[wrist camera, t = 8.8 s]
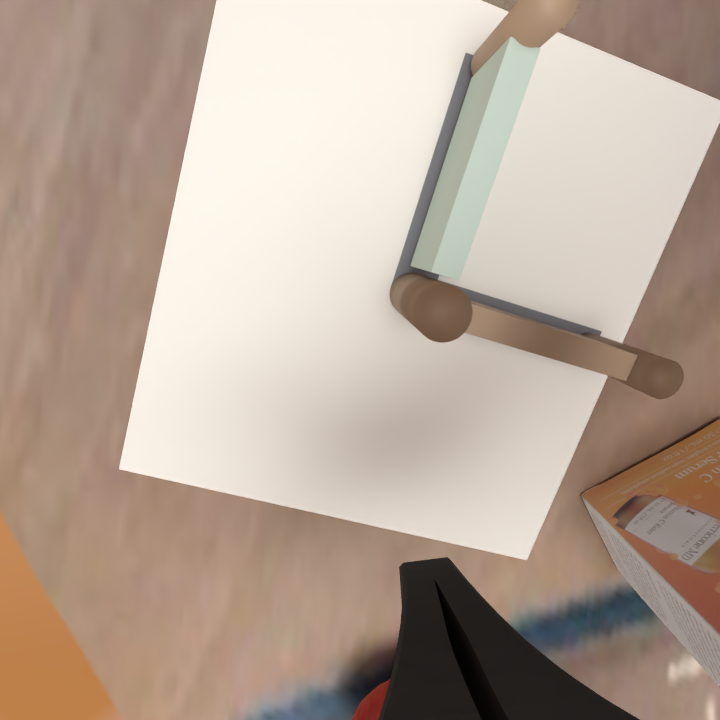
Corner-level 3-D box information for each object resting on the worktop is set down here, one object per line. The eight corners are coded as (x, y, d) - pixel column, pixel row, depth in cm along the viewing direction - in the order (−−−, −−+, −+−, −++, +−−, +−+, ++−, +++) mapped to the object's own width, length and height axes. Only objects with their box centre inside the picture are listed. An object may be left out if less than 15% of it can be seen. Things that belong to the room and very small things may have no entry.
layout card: (721, 105, 19) (729, 103, 19) (524, 556, 24) (527, 560, 24) (239, -96, 16) (237, -103, 16) (121, 465, 21) (118, 469, 21)
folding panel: (437, 274, 19) (477, 286, 14) (405, 264, 19) (434, 273, 14) (513, 51, 17) (587, -20, 13) (478, 38, 17) (541, -40, 12)
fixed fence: (607, 332, 21) (704, 364, 16) (591, 370, 21) (680, 413, 16) (397, 267, 20) (426, 277, 14) (384, 308, 20) (407, 333, 15)
